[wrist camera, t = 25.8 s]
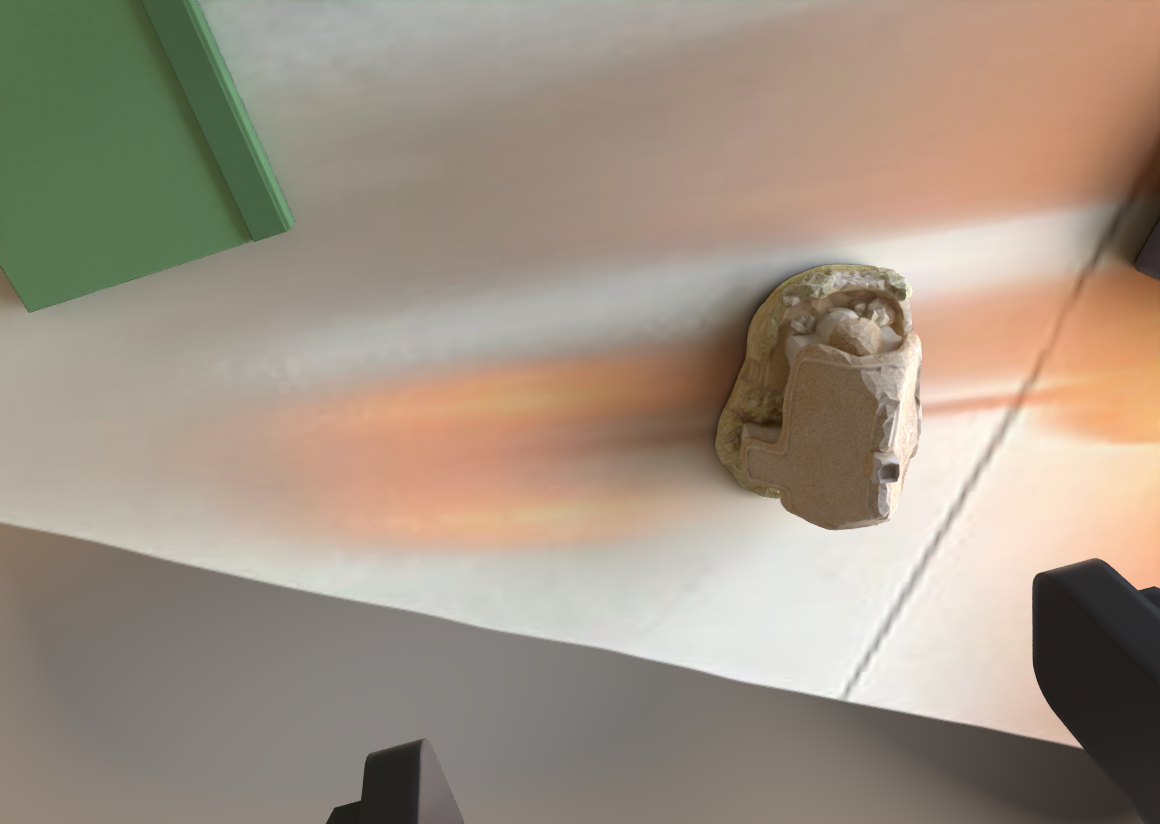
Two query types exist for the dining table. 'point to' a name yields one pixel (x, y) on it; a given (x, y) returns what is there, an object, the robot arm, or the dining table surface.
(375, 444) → the dining table surface
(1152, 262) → the calculator
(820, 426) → the ceramic model
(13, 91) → the green flat rectangular block
